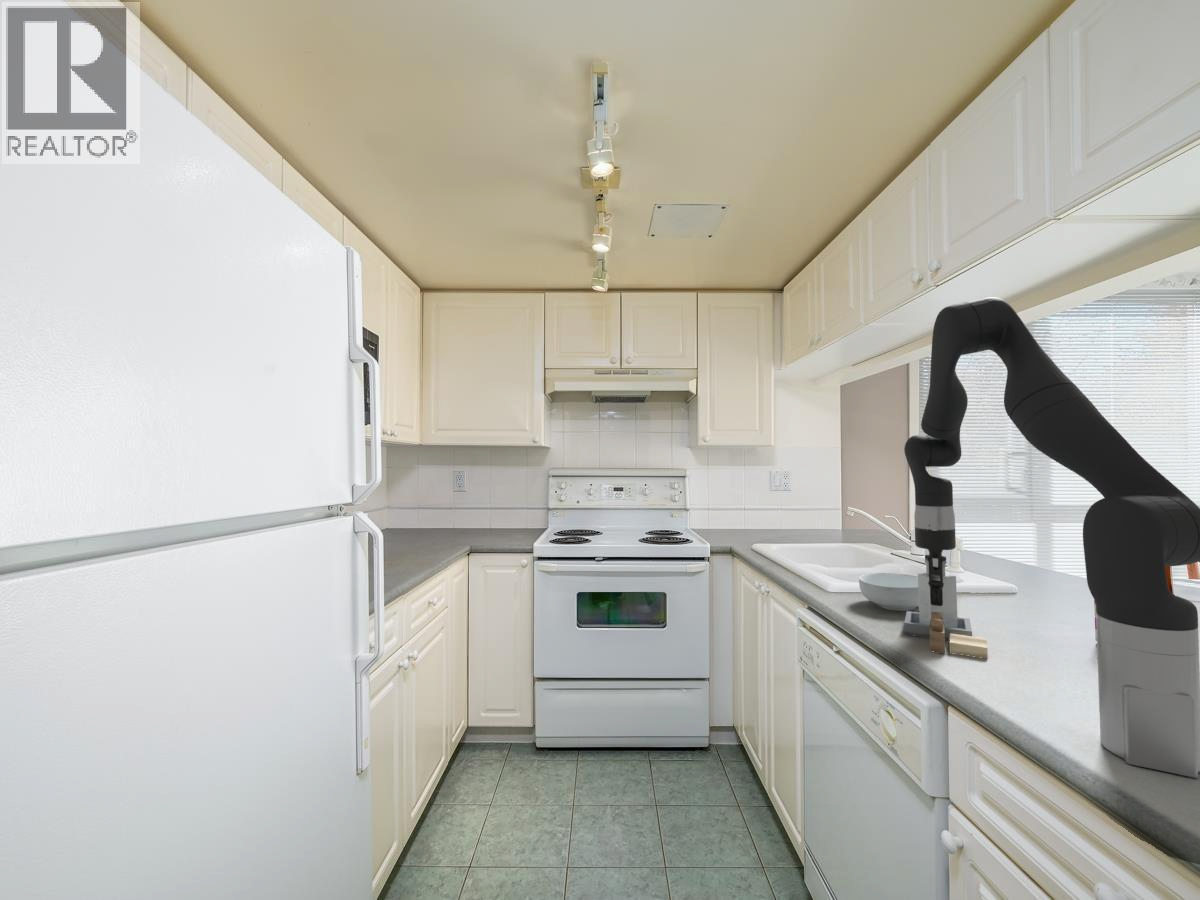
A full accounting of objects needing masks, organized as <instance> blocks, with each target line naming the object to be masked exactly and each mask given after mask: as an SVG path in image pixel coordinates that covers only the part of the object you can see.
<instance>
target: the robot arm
mask: <svg viewBox="0 0 1200 900" xmlns="http://www.w3.org/2000/svg"><path fill="white" fill-rule="evenodd" d="M934 321H935V322H934V324H933V328H932V329H933V331H932V337H931V338H932V340H931V354H930V356H931V357H930V371H929V373H930V375H929V376H930V377H929V387H928V388H929V389H928V396H927V399H926V403H925V406H924V411H923V415H922V418H921V421H920V426H921V430H922V432H923V433H925V434H919V435H918V434H917V435H912V436H910V437H909V438H908V439H907V440H906V442H905V444H904V455H905V458H906V462H907V464H908V467H909V470H910V474H911V476H912V480H913V484H914V499H915V500H914V502H915V503H914V505H915V507H914V508H915V509H914V514H913V515H914V516H913V517H914V518H913V519H914V544H915V547H917V548H919V549H924V550H925V549H926V550H928V554H925V555H924V564H925V566H926V569H925V570H926V572H925V573H926V574H927V577H929V582H928V584H929V587H930V603H931V605H935V606H942V605H943V593H942V588H943V587H944V583H943V579H945V573H946V567H947V556H946V555H943V551H951V550H955V549H956V546H957V543H956V539H957V538H956V517H955V512H954V511H955V509H954V494H953V491H954V489H953V488H954V487H953V484H952V483H953V482H952V481H951V480H950V479H948V478H943V477H939V476H933V475H931V474H930V473H929V472H928V471H927V468H934V467H935V468H939V467H942V468H947V467H952V466H954V465H956V464H957V463H958V462H959V461H960V459H961V457H962V446H961V445H962V444H961V427H962V424H963V421H964V417H965V416H966V412H967V408H968V402H969V401H968V395H967V391H966V389H965V387H964V385H963V384H962V382H961V380H960V378H959V377H958V374H957V372H956V368H957V364H958V362H959V359H960V357H961V356H964V355H969V354H975V353H981V352H985V351H992V352H994V354H996V355H997V356H998V357H999V358H1000V360H1001V361H1002V362H1003V364H1004V366H1005V367H1006V371H1007V374H1006V381H1005V382H1006V383H1005V388H1004V394H1003V404H1004V405H1003V407H1004V409H1005V412H1006V415H1007V416H1008V418H1009V419H1010V420H1011V421H1012V423H1013V425H1014V426H1015V427H1016V428H1017V430H1019V432H1020V433H1021V435H1022V436H1023V437H1024V438H1025V440H1027V442H1028V443H1029V444H1030V445H1032V447H1033V448H1034V449H1036V450H1038V451H1039V452H1040V453H1042V454H1043V455H1045V456H1047V457H1048V458H1049V459H1052V460H1053V461H1055V463H1058V464H1059V465H1061V466H1063V467H1065V468H1066V469H1068V470H1070V471H1071V472H1073V473H1074V474H1076V475H1078V476H1079V477H1081V478H1082V479H1083V480H1085V481H1086V482H1088V483H1089V484H1090V485H1092V486H1093V488H1095V489H1096V490H1097V492H1098V493H1100V495H1102V497H1103V498H1101V499H1099V500H1097V501H1095V502H1094V503H1093V504H1092V505H1091V506H1090V507H1089V508H1088V509H1087V511H1086V514H1085V516H1084V520H1083V524H1082V546H1083V555H1084V556H1083V557H1084V564H1085V573H1086V582H1087V587H1088V590H1089V592H1090V594H1091V597H1092V598H1093V601H1094V600H1095V603H1096V612H1097V613H1096V621H1097V641H1096V652H1097V674H1098V675H1097V676H1098V677H1097V678H1098V679H1097V680H1098V681H1097V682H1098V709H1099V731H1100V732H1099V733H1100V743H1101V746H1103V747H1104V748H1105V749H1106V750H1108V751H1110V753H1112V754H1114V755H1116V756H1118V757H1120V758H1121V759H1123V760H1124V761H1125V763H1126V764H1127V765H1128V764H1129V765H1132V766H1137V767H1143V768H1147V769H1152V770H1156V771H1161V772H1166V773H1171V774H1176V775H1180V776H1185V777H1190V778H1194V779H1198V778H1199V773H1200V642H1199V641H1200V639H1199V637H1200V636H1199V614H1198V613H1199V611H1198V609H1197V607H1196V604H1194V603H1193V602H1192V601H1190V600H1188V599H1186V598H1183V597H1181V596H1179V595H1175V594H1174V593H1173V592H1172V591H1171V590H1170V588H1169V585H1168V579H1167V572H1166V571H1167V570H1166V567H1177V566H1179V567H1180V566H1186V565H1187V566H1188V565H1191V564H1195V563H1199V562H1200V507H1199V506H1198V505H1197V504H1196V503H1195V502H1194V501H1193V500H1192V499H1191V498H1189V496H1187V494H1185V493H1184V492H1183V491H1181V490H1180V489H1179V488H1178V487H1177V486H1176V485H1175V484H1173V482H1171V481H1170V480H1169V479H1168V478H1166V477H1165V475H1163V474H1162V473H1160V471H1158V470H1157V469H1156V467H1155V468H1154V466H1153V465H1152V464H1151V463H1150V462H1148V461H1147V460H1146V459H1144V458H1143V456H1142V455H1141V454H1140V453H1138V451H1137V450H1136V449H1135V448H1134V447H1133V446H1132V445H1131V444H1130V442H1128V440H1126V438H1125V437H1123V435H1122V434H1121V433H1120V432H1119V431H1118V430H1117V429H1116V428H1115V427H1114V426H1113V425H1112V424H1111V423H1110V421H1108V420H1107V419H1106V418H1105V417H1104V415H1103V414H1102V413H1101V412H1100V411H1099V410H1098V409H1097V407H1096V406H1095V405H1094V403H1093V402H1092V401H1091V400H1090V399H1089V398H1088V397H1087V396H1086V395H1085V393H1083V392H1082V391H1081V390H1080V388H1079V387H1078V386H1077V385H1076V384H1075V383H1074V382H1073V381H1072V380H1071V379H1070V378H1069V377H1068V376H1067V375H1066V374H1065V373H1064V372H1063V371H1062V370H1061V368H1059V367H1058V365H1056V363H1055V362H1054V361H1053V360H1052V359H1051V357H1050V356H1049V354H1047V353H1046V352H1045V351H1044V349H1043V348H1042V347H1041V345H1040V344H1039V343H1038V341H1037V340H1036V339H1035V337H1034V336H1033V334H1032V333H1031V332H1030V330H1029V329H1028V327H1027V326H1026V324H1025V323H1024V322H1023V320H1022V318H1021V317H1020V315H1018V313H1017V312H1016V310H1015V309H1014V308H1013V307H1012V306H1011V305H1010V303H1008V302H1007V301H1006V300H1005V299H1002V298H1000V297H995V296H994V297H993V296H991V297H983V298H978V299H973V300H968V301H965V302H964V301H963V302H959V303H955V304H951V305H948V306H945V307H944V308H942V309H941V310H940V311H939V312H938V313H937V316H936V318H935V320H934ZM932 578H939V579H940V581H935V580H932Z"/></svg>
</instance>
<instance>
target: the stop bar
mask: <svg viewBox="0 0 1200 900" xmlns="http://www.w3.org/2000/svg"><path fill="white" fill-rule="evenodd" d="M929 649H930V650H929V652H930V651H934V652H933V653H936V652H939V653H938V654H942V653H945V654H946V640H945V629H944V622H943V614H942V613H939V612H931V620H930V638H929Z"/></svg>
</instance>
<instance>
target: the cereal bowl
mask: <svg viewBox="0 0 1200 900" xmlns="http://www.w3.org/2000/svg"><path fill="white" fill-rule="evenodd" d="M858 584H859V589H860V592H861V594H862V596H864V597H865V598H866V599H867V600H868V601H870V602H872V603H874V604H877V605H878V606H879V607H881V608H883V609H886V610H890V611H897V612H907V611H912V610H915V608H917V607H918V608H919V591H918V575H915V574H906V573H897V572H873V573H872V572H871V573H866V574H862V575H860V576H859V577H858Z"/></svg>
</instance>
